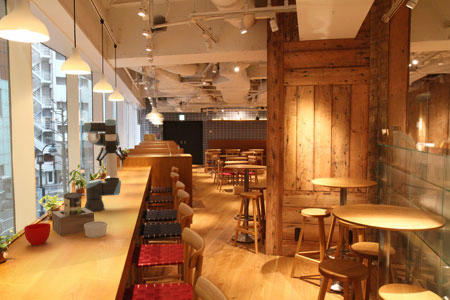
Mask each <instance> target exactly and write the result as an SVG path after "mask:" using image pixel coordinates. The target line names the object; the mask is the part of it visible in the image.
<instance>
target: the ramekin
mask: <svg viewBox="0 0 450 300" xmlns="http://www.w3.org/2000/svg"><path fill="white" fill-rule="evenodd" d="M107 226H108V222H107V221H103V220H102V221H101V220H94V222H89V223H86V224H84V228H85V232H84V234H85V236H86V237H87V238H90V239H91V238H93V239H94V238H95V239H97V238H101V237H104V236H105V235H106V234H107V231H108V230H107V229H108V227H107Z"/></svg>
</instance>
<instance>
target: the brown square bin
mask: <svg viewBox="0 0 450 300" xmlns="http://www.w3.org/2000/svg"><path fill="white" fill-rule="evenodd" d="M84 207H85V206H84ZM84 207H83V206H82V207H81V213H80V214H73V215H66V216H65V215H64V209H63V210H56V211H55V210H54V211H52V212H51V218H52V219H51V221H52V223H51V224H52V225H51V226H52V230H53V231H54V232H55V233H57V235H59V236H60V237H64V236H70V235H74V234H81V233H85V228H84V224H86V223H89V222H94V221H95V211H90V210H88V209H86V208H84Z"/></svg>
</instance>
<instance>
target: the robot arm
mask: <svg viewBox="0 0 450 300" xmlns="http://www.w3.org/2000/svg"><path fill="white" fill-rule="evenodd" d="M83 132H84V133H87V141H89V143H91V144H92V145H94V146H98V147H99V146H101V147H100V150H99V153H98V155H97V157H96V159H95V160H96V161H97V162H98V165H99V167H100V171H104V169H103V167H104V165H103V164H104V162H103V160H104V159H105V173H106V174H105V178H104V181H102V179H93V180H90V181H87V182H86V185H85V191H86V192H85V193H86V194H85V195H86V201H85V203H84V208H86V209H88V210H90V211H92V212H99V211H103V210H105V204H104V201H103V197H108V196H119V195H120V194H121V185H122V180H120V177H118V161H117V160H118V158H119V170H120V171H121V170H123V165H124V161H125V160H126V158H127V157H126V156H125V154H124V152H123V150H122V147H121V146H120V145H121V144H120V143H121V141H120V135H119V133H118V132H117V120H116V118H105V119H104V121H84V122H83ZM104 151H105V152H104ZM118 151H119V152H118ZM103 152H104V153H103ZM102 154H103V155H102ZM117 157H118V158H117Z"/></svg>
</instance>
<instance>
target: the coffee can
mask: <svg viewBox="0 0 450 300" xmlns="http://www.w3.org/2000/svg"><path fill="white" fill-rule="evenodd" d="M82 195H83V194H82V193H79V192H67V193H64V195H63V210H64V215H65V216H66V215H73V214H80V213H81V208H82V197H83V196H82Z"/></svg>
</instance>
